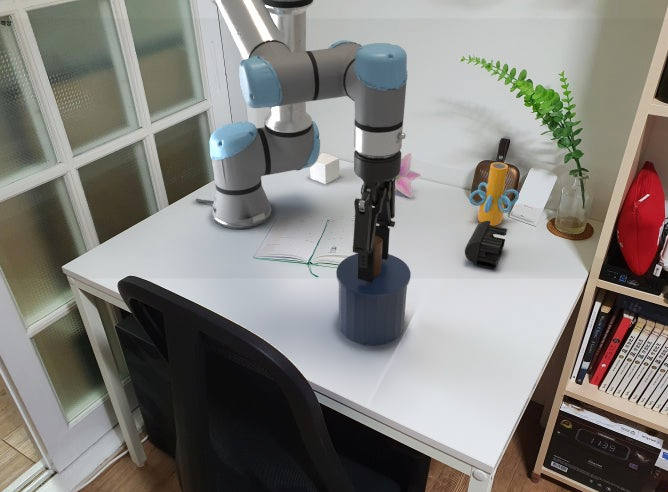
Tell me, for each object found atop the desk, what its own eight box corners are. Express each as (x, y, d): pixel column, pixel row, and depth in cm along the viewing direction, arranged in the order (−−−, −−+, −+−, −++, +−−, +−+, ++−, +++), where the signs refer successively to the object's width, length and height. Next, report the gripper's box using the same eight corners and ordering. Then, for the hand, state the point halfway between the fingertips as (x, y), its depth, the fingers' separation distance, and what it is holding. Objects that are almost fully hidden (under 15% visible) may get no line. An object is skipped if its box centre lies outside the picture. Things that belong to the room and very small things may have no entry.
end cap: (473, 242, 135) (477, 217, 131) (503, 249, 132) (508, 224, 128) (462, 264, 127) (466, 238, 123) (494, 271, 125) (499, 246, 121)
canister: (328, 336, 109) (327, 285, 101) (353, 299, 118) (354, 249, 110) (390, 355, 104) (394, 302, 97) (411, 315, 113) (416, 264, 106)
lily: (366, 193, 158) (371, 173, 149) (384, 164, 162) (390, 143, 154) (404, 213, 156) (411, 194, 147) (421, 182, 161) (430, 162, 152)
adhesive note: (310, 178, 164) (309, 159, 161) (324, 171, 168) (323, 152, 164) (325, 184, 161) (325, 164, 157) (339, 177, 164) (339, 158, 161)
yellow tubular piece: (502, 236, 136) (513, 180, 127) (461, 225, 141) (469, 170, 132) (517, 215, 145) (528, 160, 136) (478, 205, 149) (486, 152, 140)
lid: (324, 289, 101) (323, 251, 96) (353, 250, 111) (353, 214, 106) (396, 307, 97) (398, 269, 92) (419, 266, 106) (423, 229, 102)
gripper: (378, 179, 81) (373, 304, 94) (419, 131, 95) (409, 245, 109) (330, 171, 83) (332, 293, 97) (377, 125, 98) (373, 237, 111)
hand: (373, 267), depth 103 cm, fingers open, 7 cm apart
